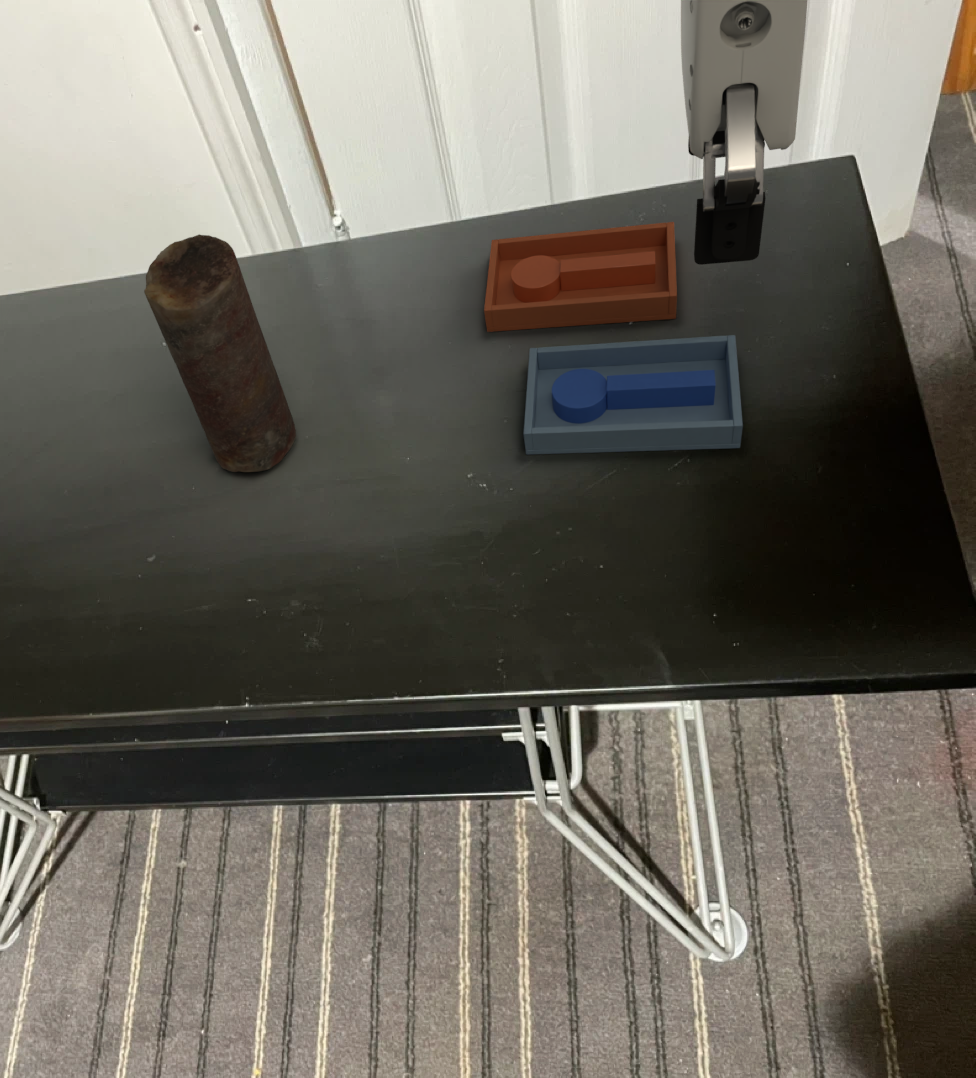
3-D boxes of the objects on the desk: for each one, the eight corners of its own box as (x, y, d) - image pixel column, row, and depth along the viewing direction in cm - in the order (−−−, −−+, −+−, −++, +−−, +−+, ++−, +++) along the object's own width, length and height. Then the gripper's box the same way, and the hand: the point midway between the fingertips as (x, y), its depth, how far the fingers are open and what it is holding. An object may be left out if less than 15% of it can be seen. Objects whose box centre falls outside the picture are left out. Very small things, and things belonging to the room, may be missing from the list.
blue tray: (733, 358, 81) (735, 334, 79) (740, 448, 76) (742, 425, 74) (531, 369, 86) (529, 347, 84) (526, 454, 81) (523, 433, 79)
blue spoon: (712, 377, 79) (713, 356, 78) (714, 418, 77) (716, 398, 75) (553, 385, 83) (552, 366, 82) (551, 424, 81) (550, 405, 79)
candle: (313, 419, 89) (247, 232, 74) (287, 485, 86) (212, 303, 71) (234, 414, 93) (155, 234, 77) (206, 478, 89) (117, 302, 74)
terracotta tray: (673, 245, 90) (674, 221, 88) (676, 318, 85) (677, 295, 83) (494, 261, 95) (491, 239, 93) (487, 332, 90) (483, 310, 88)
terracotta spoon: (654, 261, 88) (655, 240, 87) (655, 294, 86) (655, 273, 84) (514, 273, 92) (512, 253, 91) (511, 305, 90) (509, 286, 88)
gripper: (866, -34, 40) (809, 301, 53) (820, -218, 50) (781, 104, 63) (658, 1, 43) (653, 312, 56) (652, -181, 52) (649, 122, 65)
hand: (721, 202), depth 59 cm, fingers open, 9 cm apart
